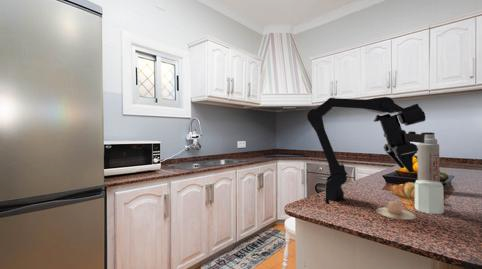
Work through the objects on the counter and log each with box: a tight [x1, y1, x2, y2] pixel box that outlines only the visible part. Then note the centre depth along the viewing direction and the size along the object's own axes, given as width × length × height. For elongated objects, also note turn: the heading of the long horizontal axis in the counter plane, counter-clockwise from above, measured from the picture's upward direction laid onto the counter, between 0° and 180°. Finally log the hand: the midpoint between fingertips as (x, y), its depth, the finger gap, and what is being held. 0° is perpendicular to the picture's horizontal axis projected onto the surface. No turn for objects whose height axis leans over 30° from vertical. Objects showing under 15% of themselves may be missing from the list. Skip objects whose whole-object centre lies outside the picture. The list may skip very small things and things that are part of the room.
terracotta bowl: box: [387, 200, 403, 215], centre depth 74 cm, size 4×4×4 cm
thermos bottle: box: [416, 131, 441, 182], centre depth 106 cm, size 8×8×28 cm
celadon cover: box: [414, 179, 445, 215], centre depth 77 cm, size 7×7×11 cm
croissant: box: [388, 181, 416, 200], centre depth 95 cm, size 21×10×8 cm, turn 23°
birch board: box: [375, 206, 417, 220], centre depth 74 cm, size 11×11×1 cm
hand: (406, 169), depth 82 cm, fingers open, 9 cm apart
